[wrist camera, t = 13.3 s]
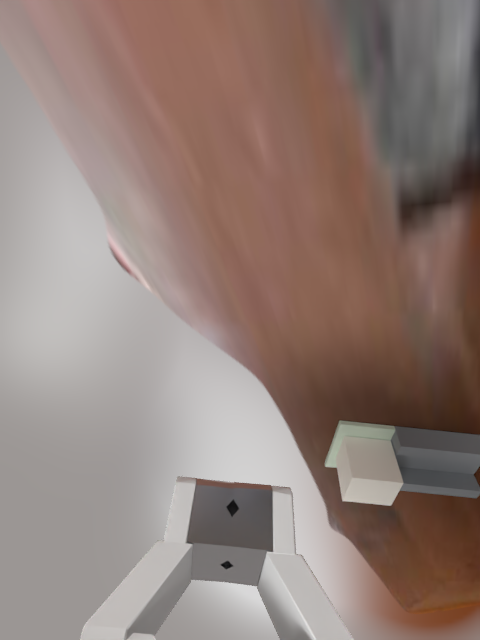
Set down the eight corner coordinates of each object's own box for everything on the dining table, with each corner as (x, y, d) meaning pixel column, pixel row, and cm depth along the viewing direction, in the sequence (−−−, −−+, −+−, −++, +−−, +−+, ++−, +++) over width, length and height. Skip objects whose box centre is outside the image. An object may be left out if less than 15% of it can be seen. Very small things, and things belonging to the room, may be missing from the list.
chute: (495, 436, 51) (507, 457, 49) (467, 477, 56) (476, 498, 54) (339, 420, 51) (343, 440, 49) (324, 462, 56) (327, 483, 54)
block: (390, 440, 52) (403, 482, 47) (379, 463, 55) (390, 505, 50) (344, 435, 52) (352, 477, 47) (335, 459, 54) (342, 500, 50)
